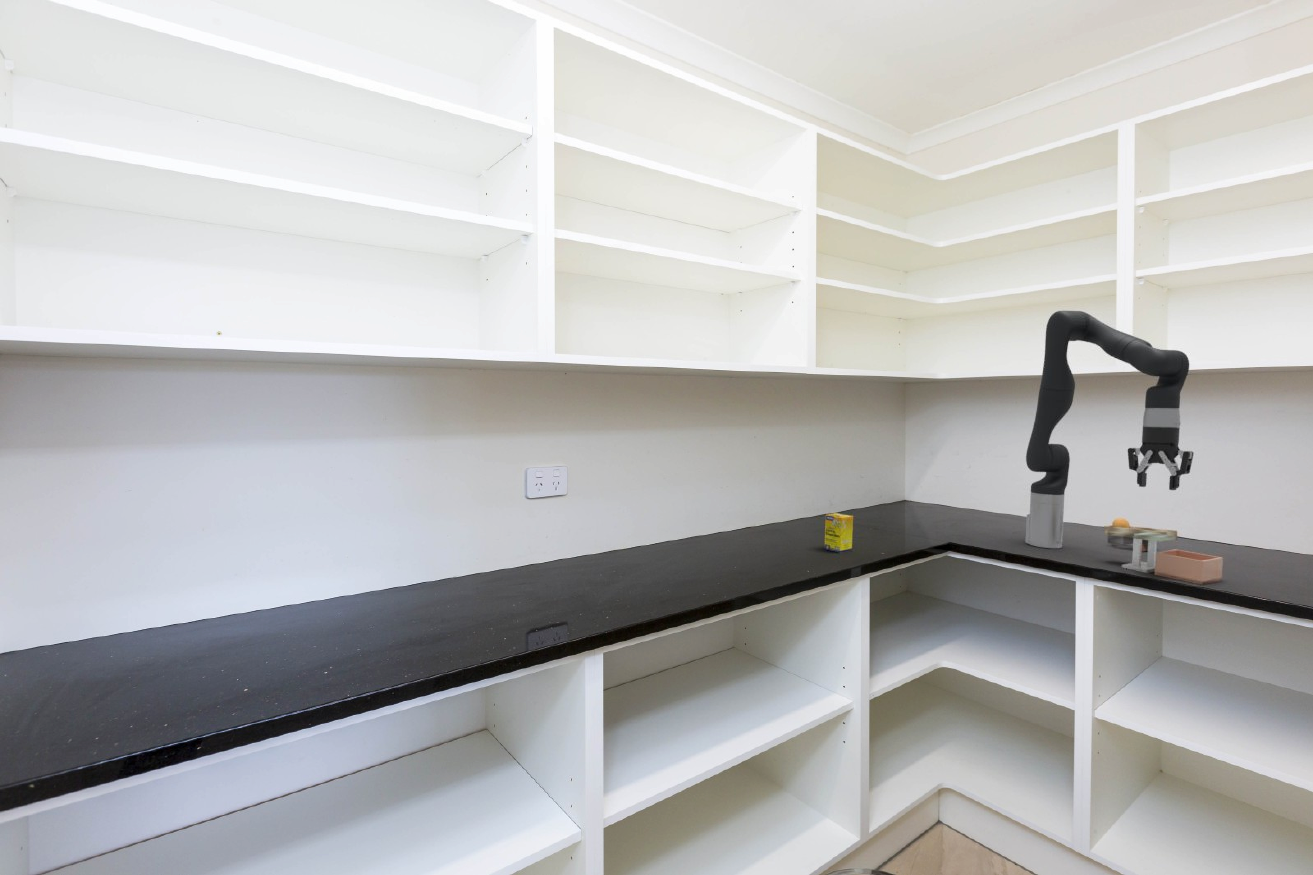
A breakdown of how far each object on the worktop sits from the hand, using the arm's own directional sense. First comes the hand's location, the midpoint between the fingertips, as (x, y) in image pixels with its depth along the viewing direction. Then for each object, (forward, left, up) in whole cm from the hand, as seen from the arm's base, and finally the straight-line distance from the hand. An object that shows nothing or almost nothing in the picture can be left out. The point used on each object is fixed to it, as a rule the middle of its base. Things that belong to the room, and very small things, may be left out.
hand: (1157, 488), depth 160 cm
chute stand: (-5, +6, -24) cm, 25 cm away
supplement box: (-55, -59, -24) cm, 84 cm away
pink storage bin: (+5, +6, -24) cm, 25 cm away
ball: (-11, +6, -13) cm, 18 cm away
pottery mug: (-20, +33, -24) cm, 45 cm away
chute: (-5, +3, -17) cm, 18 cm away
